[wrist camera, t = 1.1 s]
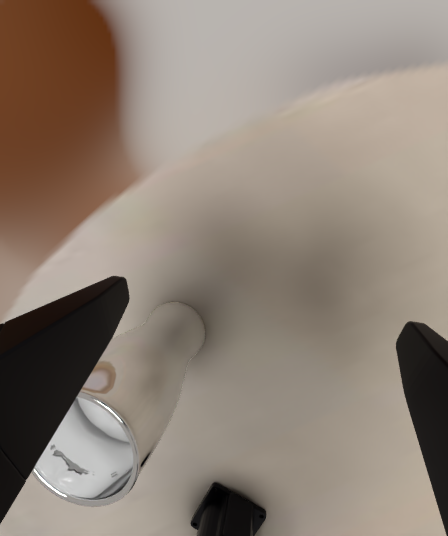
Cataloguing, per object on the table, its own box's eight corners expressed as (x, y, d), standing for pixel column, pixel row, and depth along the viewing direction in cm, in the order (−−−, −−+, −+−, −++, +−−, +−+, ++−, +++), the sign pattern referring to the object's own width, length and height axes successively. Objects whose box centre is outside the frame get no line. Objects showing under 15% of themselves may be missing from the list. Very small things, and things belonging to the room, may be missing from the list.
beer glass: (181, 283, 27) (80, 360, 13) (224, 340, 28) (172, 478, 13) (130, 320, 29) (-12, 426, 14) (171, 374, 29) (72, 530, 15)
